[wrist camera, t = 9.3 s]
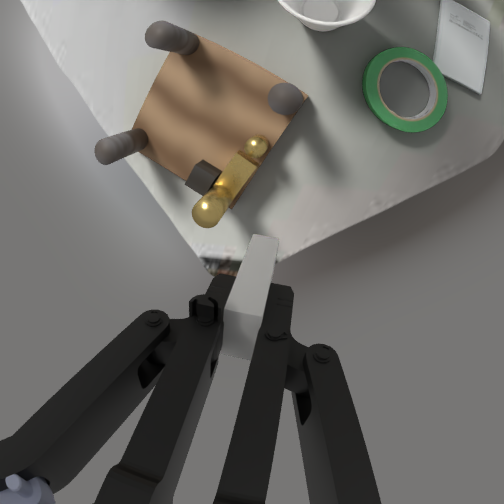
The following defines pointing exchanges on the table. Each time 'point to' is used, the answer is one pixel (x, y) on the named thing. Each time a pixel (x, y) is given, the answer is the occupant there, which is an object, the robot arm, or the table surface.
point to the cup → (328, 12)
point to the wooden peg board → (203, 109)
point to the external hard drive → (461, 45)
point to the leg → (229, 183)
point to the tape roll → (434, 81)
